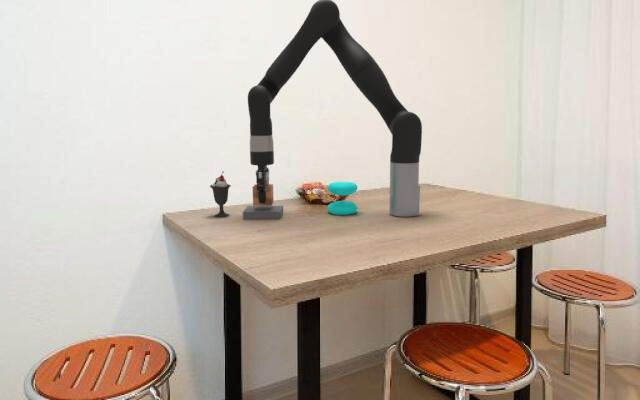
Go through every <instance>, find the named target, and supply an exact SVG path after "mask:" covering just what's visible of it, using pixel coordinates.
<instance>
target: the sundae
mask: <svg viewBox="0 0 640 400" xmlns="http://www.w3.org/2000/svg"><path fill="white" fill-rule="evenodd" d="M224 173H225V172H224V170H223V171H222V172H221V175H220V176H219V177H217V178H215V182H214V183H212V184H211V185H209V187H210V188H211V189H212V194H213V198H214V201H215V203H216V205H218V206H219V211H218V213H215V214H214V217H215V218H226V217H229V216H230V214H229V213H227V212H225V210H224V205H225V204H227V202H228V198H229V190H230V188H231V185H230V184H228V183H227V180H226V178H225V177H224V175H223V174H224Z"/></svg>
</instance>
